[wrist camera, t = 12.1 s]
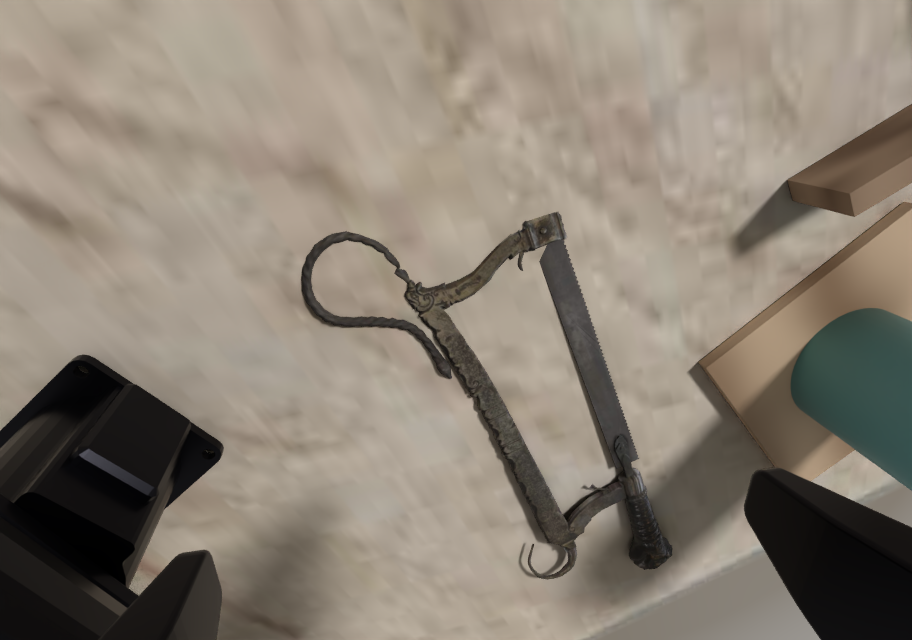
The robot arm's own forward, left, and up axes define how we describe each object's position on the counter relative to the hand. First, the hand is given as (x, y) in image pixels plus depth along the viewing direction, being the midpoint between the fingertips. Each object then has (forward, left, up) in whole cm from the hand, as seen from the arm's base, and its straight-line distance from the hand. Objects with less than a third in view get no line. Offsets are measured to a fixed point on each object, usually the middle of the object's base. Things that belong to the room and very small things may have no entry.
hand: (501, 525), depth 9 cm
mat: (+12, -18, -13) cm, 25 cm away
